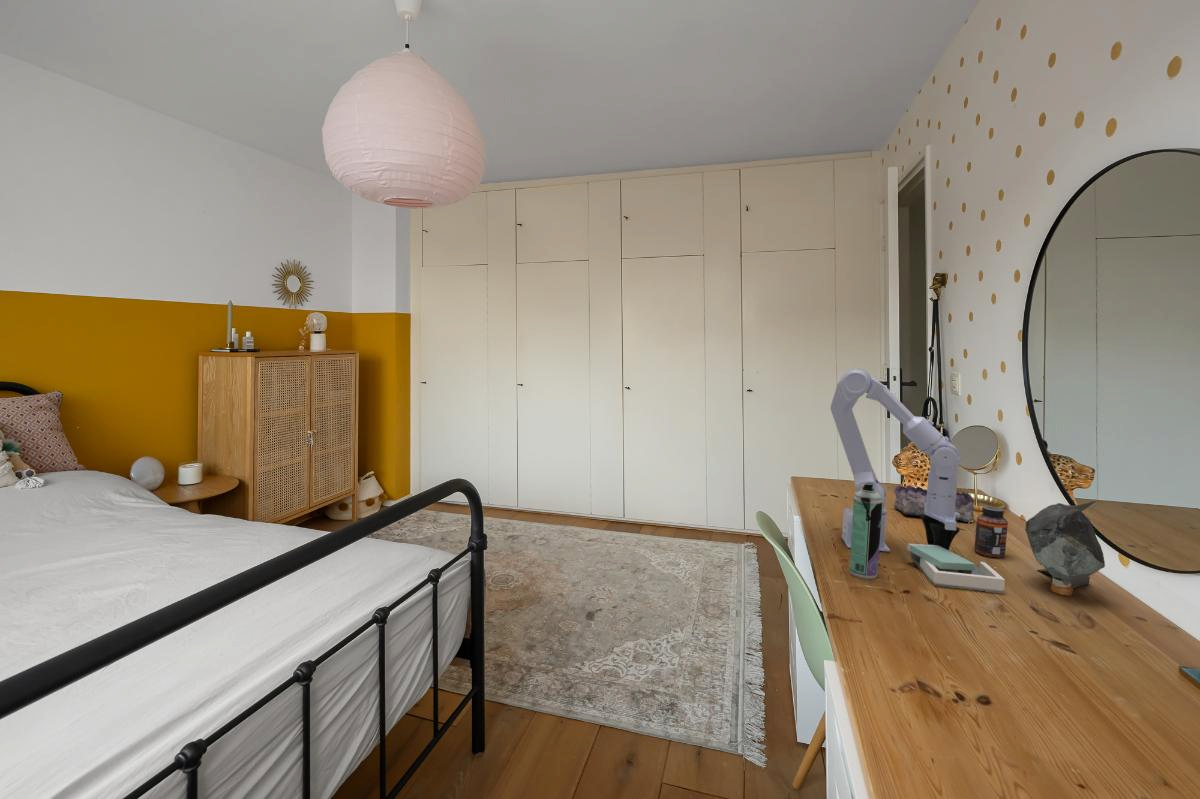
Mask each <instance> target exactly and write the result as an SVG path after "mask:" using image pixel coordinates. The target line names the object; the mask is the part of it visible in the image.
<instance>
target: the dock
mask: <svg viewBox="0 0 1200 799" xmlns="http://www.w3.org/2000/svg"><path fill="white" fill-rule="evenodd" d="M911 560H912V562H914V564H915V565H916V566H917V568H918V569H919V570H920V571H921V573H922V574H923V575H924V576H925V577H926V579H928V581H929V582H930V583H931V584H933V585H934V586H933V585H932V586H933V587H937V586H940V588H945V587H949V588H948V589H954V588H961V589H960V590H963V589H970V590H969V591H972V590H979V591H978V592H981V591H985V592H984V593H992V594H999V595H1004V593H1005V582H1006V579H1005V578H1004V577H1003V576H1001V575H1000V574H999V573H998V572H997V571H996V570H994V569H993V568H992V567H991V566H990V565H988V564H987V563H986V562H985V561H979V562H978V565H976V564H975V570H974V571H972V574H964V573H959V571H958V570H954V569H947V570H948V571H947V572H945V571H938V570H937V568H936V567H935V565H933V564H932V563H930V562H928V561H926V560H925V559H923V558H921V557H920V561H919V562H918V561H914V560H913V559H912V558H911ZM941 586H942V587H941Z"/></svg>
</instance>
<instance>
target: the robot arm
mask: <svg viewBox="0 0 1200 799" xmlns="http://www.w3.org/2000/svg"><path fill="white" fill-rule="evenodd" d="M865 393H866V395H865ZM864 395H865V398H866V399H870V400H873V401H876V402H878V403H880V404H881V405H882V406H883V407H884V408H885V409H886V410H887V411H888V412H889V413H890V414H891V415H892V416H893V417H894V418H896V419H897V420H898V421H899V422H900V423H901V424H902V425H903V427H902V434H904V436H906V437H907V438H908V440H910V442H912V443H913V445H915V447H916V448H918V449H919V450H920V451H921V453H923V454H926V455H927V456H928V459H929V460H930V464H929V471H928V474H927V485H926V486H927V487H926V488H927V489H926V490H927V498H926V503H925V514H926V515H920V516H919V517H920V519H921V521H922V523H923V526H924V530H925V535H926V536H925V537H926V541H927V545H939V546H941V547H943V548H945V549H947V550H949V551H950V547H951V544H952V542H953V540H954V538H955V537H956V536H957V534H958V533H960V530H961V529H960V527H959V526H957V524H958V521H957V520H955V518H956V517H960V514H959V513H957V512H955V502H956V492H957V488H958V475H957V474H958V471H959V470H958V467H959V466H960V464H961V462H962V458H961V455H960V452H959V451H958V449H957V448H956V446H955V445H954V443H953V442H950V438H949V437H948V436H944V435H943V434H942V433H941V432H940V431H939V430H937V428H936V427H935V426H933V425H934V424H935V423H934V422H933V421H932V420H931V419H928V420H927V419H926V418H925V416H915V415H914V414H913V413H912V412H911V411H910V410H909V409H908V408H907V407H906V406H905V405H904V404H903V403H902V402H901V400H899V398H898V397H896V395H894V394H893V392H892V391H891V390H890V389H889V388H888V387H887V386H886V385H884V384H883V383H882V382H880V381H879V380H877V379H876V378H875V377H871V375H870V373H869V372H868V371H866V370H865V369H862V368H854V369H851V370H849V371H847V372H846V373H845V374H844V375H843V376H842V377H841V378H840V380H839V381H838V382H837V384H836V387H835V391H834V394H833V397H832V400H831V404H830V411H831V415H832V418H833V420H834V423H835V426H836V429H837V432H838V434H839V438H840V440H841V443H842V446H843V449H844V452H845V455H846V458H847V461H848V464H849V466H850V470H851V472H852V475H853V476H852V477H853V481H854V485H855V489H856V492H858V491H860V490H861V488H863V487H864V484H866V483H871V484H873V488H874V490H876V492H877V493H878V494H879V495H881V496H882V514H881V530H880V546H879V552H889V553H890V551H891V549H890V548H889V547H888V545H887V544H886V531H887V530H886V528H887V514H888V513H887V512H888V511H887V510H888V509H886V507H885V505H886V495H887V492H886V488H885V486H884V485H883V484H882V483H881V482H880V481H879V479H878V478H877V475H876V473H875V471H874V469H873V466H872V463H871V459H870V457H869V455H868V452H867V451H868V450H867V449H866V446H865V444H864V441H863V437H862V434H861V431H860V429H859V426H858V423H857V419H856V417H855V414H854V412H853V408H854V406H855V405H856V403H857V402H858V400H859V399H860V397H861V398H862V397H863V396H864ZM852 519H853V507H852V508H847V507H846V508H844V510H843V519H842V535H841V538H842V540H843V542H844V544H845V546H846V547H847V548H848V549H851V537H852Z"/></svg>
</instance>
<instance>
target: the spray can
mask: <svg viewBox="0 0 1200 799" xmlns="http://www.w3.org/2000/svg"><path fill="white" fill-rule="evenodd" d="M852 505H853V507H852V508H853V519H852V537H851V548H850V553H849V554H850V555H849V556H850V558H849V573H850V574H851V575H852V576H855V577H857V578H860V579H864V580H875V579H877V578H878V574H879V573H878V572H879V560H880V558H879V557H880V551H879V546H880V530H881V514H882V496H881V495H879V494H878V493H877V492H876V490H874V488H873V484H871V483H866V484H864V487H863V488H861V490H860V491H858V492H857V491H855V492H854V496H853V504H852Z"/></svg>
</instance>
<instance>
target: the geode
mask: <svg viewBox="0 0 1200 799" xmlns="http://www.w3.org/2000/svg"><path fill="white" fill-rule="evenodd" d="M893 493H894V494H895V500H894V504H893V507H894V509H897V510H898V511H900V512H901V513H902V514H903V515H909V516H917V517H920V515H926V514H925V503H926V498H927V489H924V488H921V487H920V486H917V487H915V486H913V485H906V486H903V485H897V486H895V488H894V492H893ZM975 509H976V508H975V506H974V499H973V497H972V495H971V494H969V492H964V491H962V492H958V491H956V502H955V512H957V513H959V514H960V517H956V518H955V521H959V520H960V521H961V522H963V521H964V522H963V523H966V522H969V521H972V520H974V521H975V515H974V512H975Z"/></svg>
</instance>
